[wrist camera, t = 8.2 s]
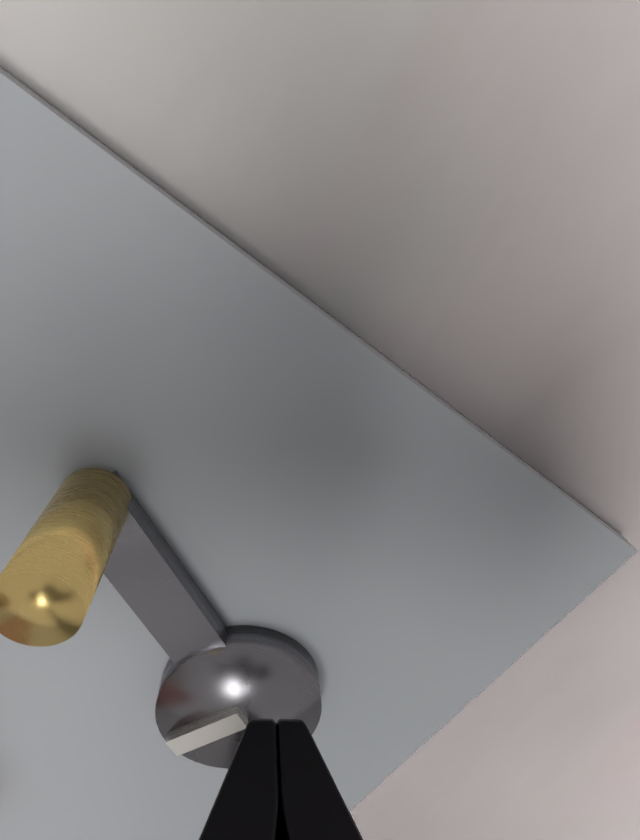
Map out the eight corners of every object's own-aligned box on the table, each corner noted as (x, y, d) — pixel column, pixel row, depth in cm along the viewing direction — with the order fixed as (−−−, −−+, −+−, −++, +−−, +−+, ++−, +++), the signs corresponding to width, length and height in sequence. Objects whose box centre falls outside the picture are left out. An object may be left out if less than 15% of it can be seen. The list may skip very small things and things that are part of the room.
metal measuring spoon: (164, 425, 14) (123, 524, 10) (343, 705, 19) (364, 851, 15) (-5, 504, 15) (-109, 628, 11) (209, 759, 19) (194, 914, 15)
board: (622, 535, 18) (637, 550, 17) (204, 920, 24) (202, 943, 23) (-295, -156, 10) (-342, -184, 9) (-556, 686, 16) (-595, 710, 15)
